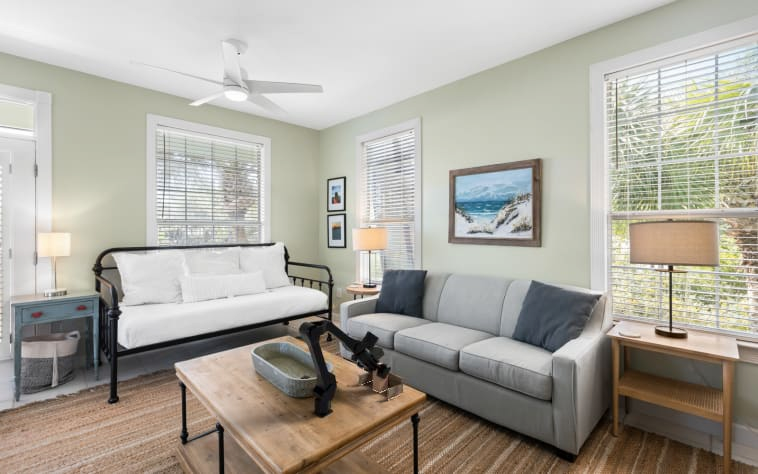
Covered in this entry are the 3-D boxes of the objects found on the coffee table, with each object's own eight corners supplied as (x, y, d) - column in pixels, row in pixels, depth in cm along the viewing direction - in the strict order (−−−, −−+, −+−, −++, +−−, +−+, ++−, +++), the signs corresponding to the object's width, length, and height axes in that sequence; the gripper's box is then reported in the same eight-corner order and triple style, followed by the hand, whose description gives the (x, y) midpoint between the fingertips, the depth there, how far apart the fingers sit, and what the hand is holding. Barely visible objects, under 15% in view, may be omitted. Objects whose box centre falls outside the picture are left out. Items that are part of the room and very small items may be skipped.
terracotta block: (379, 393, 165) (380, 368, 164) (372, 389, 168) (373, 364, 168) (387, 390, 168) (387, 365, 168) (380, 387, 172) (380, 362, 172)
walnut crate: (388, 401, 157) (388, 383, 157) (358, 385, 173) (359, 369, 173) (402, 395, 164) (403, 377, 163) (373, 380, 179) (373, 364, 179)
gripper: (388, 348, 158) (405, 366, 166) (362, 338, 172) (378, 355, 180) (374, 369, 153) (392, 388, 161) (348, 358, 167) (366, 375, 175)
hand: (382, 375), depth 169 cm, fingers closed on terracotta block, 5 cm apart
